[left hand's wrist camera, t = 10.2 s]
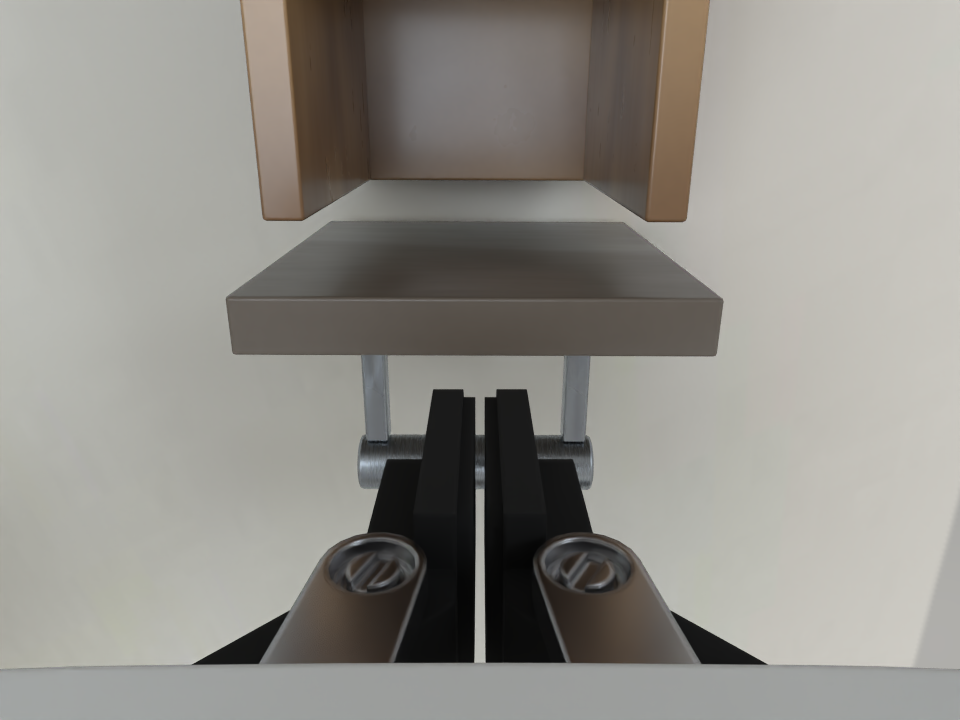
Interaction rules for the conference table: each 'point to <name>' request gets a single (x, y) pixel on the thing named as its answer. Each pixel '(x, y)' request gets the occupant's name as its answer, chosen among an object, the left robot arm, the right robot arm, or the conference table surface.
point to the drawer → (474, 156)
